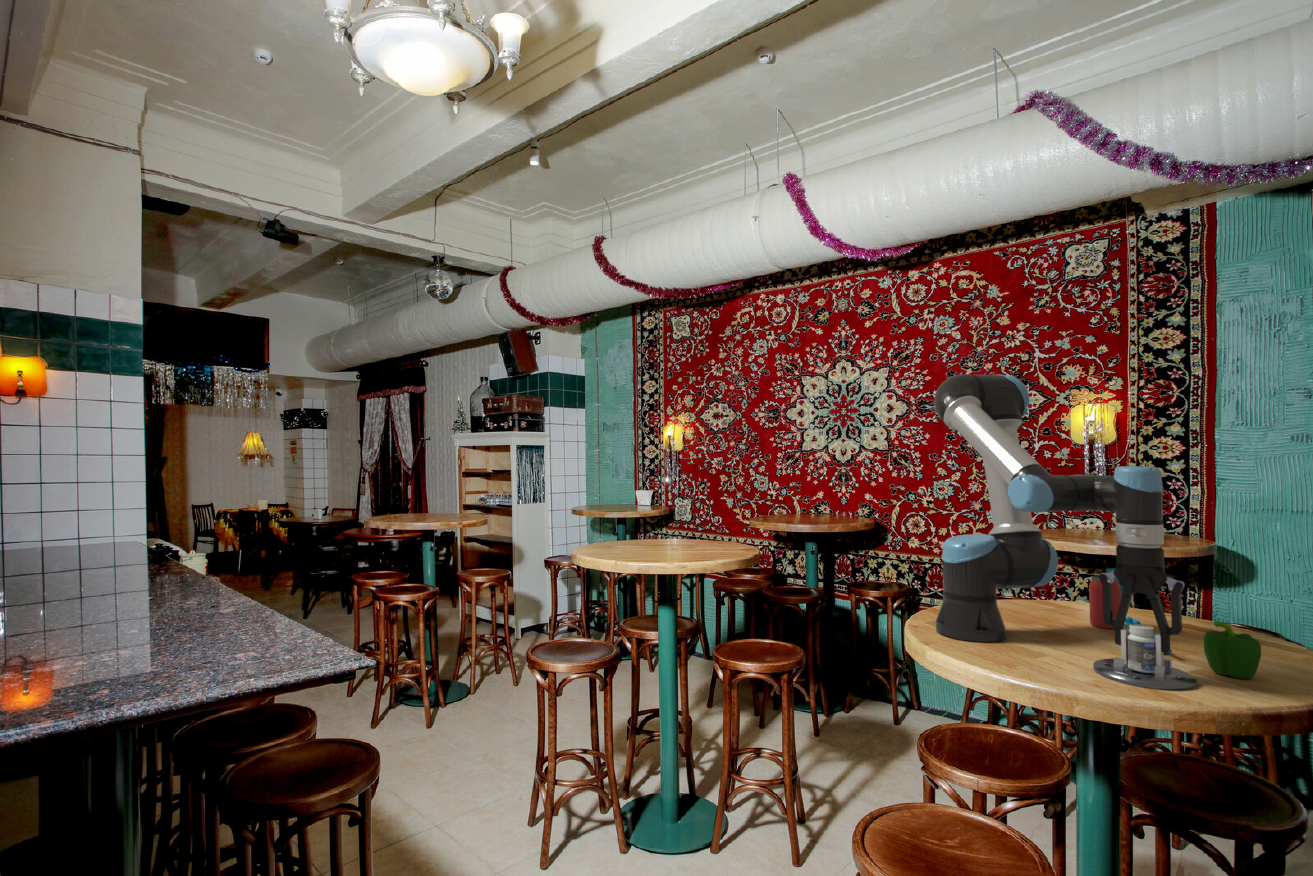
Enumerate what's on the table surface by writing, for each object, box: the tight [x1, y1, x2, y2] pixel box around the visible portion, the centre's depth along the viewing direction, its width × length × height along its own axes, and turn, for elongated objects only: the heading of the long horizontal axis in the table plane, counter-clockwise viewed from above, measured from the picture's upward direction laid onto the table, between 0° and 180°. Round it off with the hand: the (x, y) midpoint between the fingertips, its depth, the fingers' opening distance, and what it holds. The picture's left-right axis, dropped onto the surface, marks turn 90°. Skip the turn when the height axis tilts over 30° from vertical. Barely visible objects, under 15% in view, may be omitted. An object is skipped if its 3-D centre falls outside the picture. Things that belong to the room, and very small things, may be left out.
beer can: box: [1088, 575, 1122, 630], centre depth 163 cm, size 7×7×12 cm
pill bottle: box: [1127, 623, 1156, 673], centre depth 126 cm, size 5×5×8 cm
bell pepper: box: [1203, 621, 1262, 680], centre depth 127 cm, size 8×8×10 cm
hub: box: [1092, 656, 1198, 691], centre depth 126 cm, size 16×16×3 cm
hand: (1142, 665), depth 126 cm, fingers closed on pill bottle, 5 cm apart
